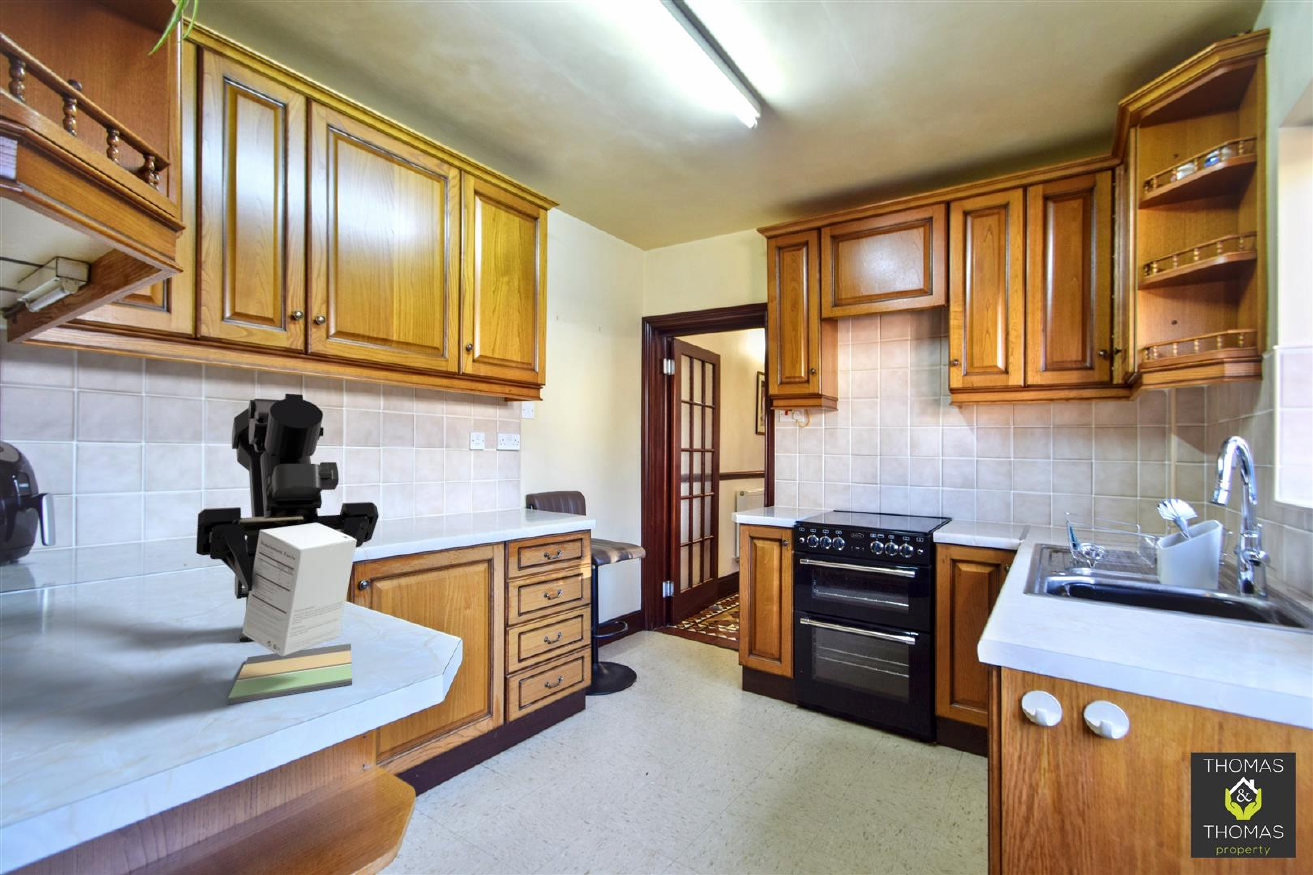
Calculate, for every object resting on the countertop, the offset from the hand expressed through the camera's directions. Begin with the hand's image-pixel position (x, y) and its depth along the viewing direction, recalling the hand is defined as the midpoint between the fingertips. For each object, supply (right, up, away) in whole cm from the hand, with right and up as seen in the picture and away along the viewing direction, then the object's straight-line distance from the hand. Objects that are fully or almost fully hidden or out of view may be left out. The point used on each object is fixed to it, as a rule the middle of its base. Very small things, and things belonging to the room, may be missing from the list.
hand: (298, 583), depth 67 cm
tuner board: (-3, -12, +5) cm, 14 cm away
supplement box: (-1, -7, +1) cm, 7 cm away
